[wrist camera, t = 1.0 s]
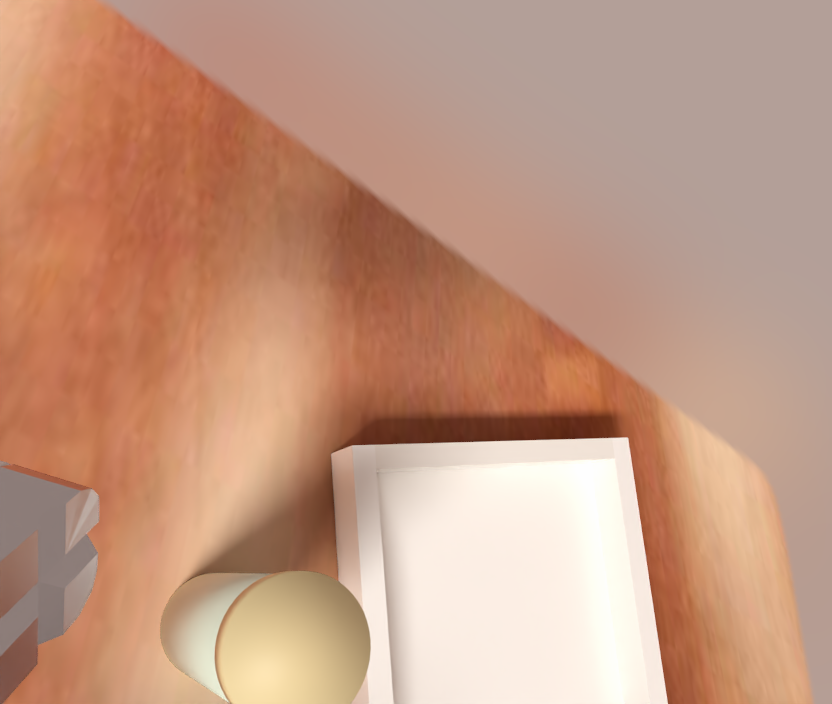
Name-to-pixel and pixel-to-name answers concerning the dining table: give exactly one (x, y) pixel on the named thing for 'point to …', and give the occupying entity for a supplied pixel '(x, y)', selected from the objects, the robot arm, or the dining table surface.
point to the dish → (498, 572)
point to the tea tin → (269, 637)
